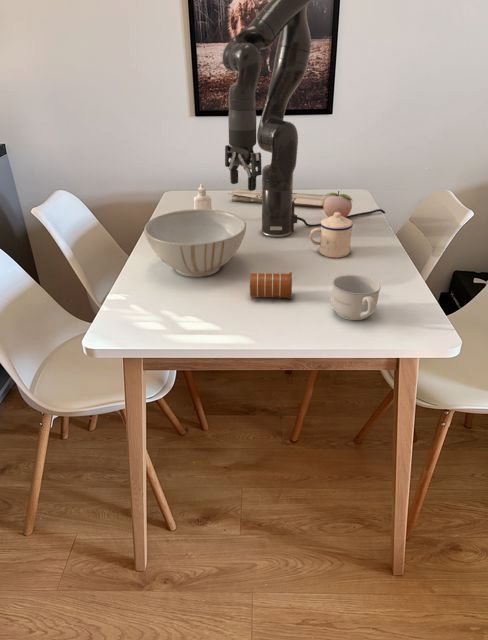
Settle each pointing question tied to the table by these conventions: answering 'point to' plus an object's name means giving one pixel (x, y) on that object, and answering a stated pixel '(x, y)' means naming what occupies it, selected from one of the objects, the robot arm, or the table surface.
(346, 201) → the decorative fruit
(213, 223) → the decorative bowl
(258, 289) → the brown striped cylinder
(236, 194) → the newspaper
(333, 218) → the teacup with lid
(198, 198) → the eye dropper bottle
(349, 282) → the teacup
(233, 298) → the table surface
